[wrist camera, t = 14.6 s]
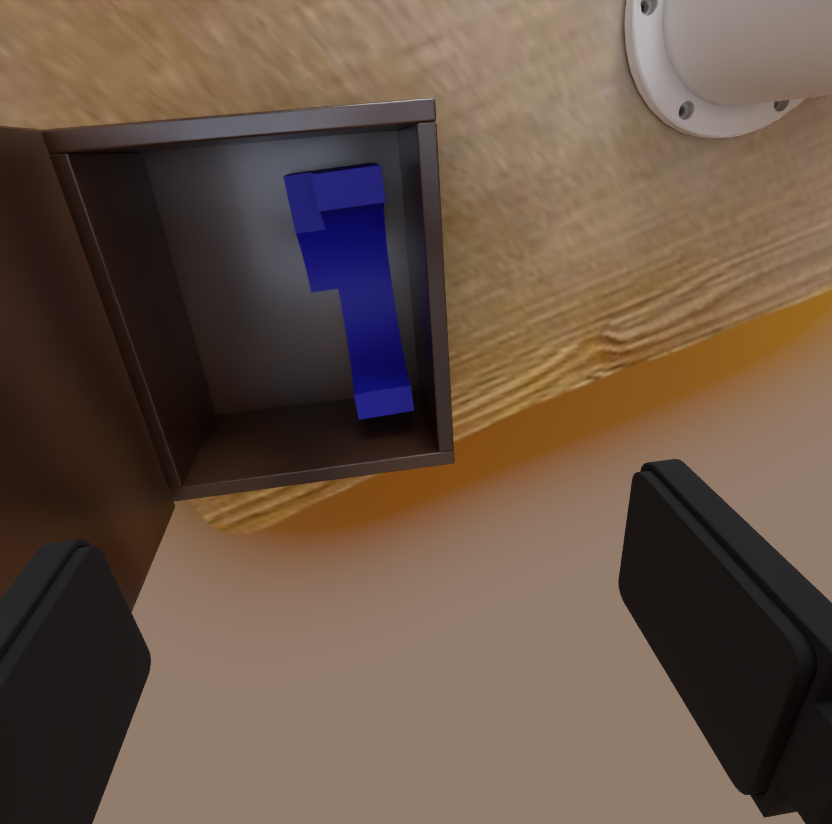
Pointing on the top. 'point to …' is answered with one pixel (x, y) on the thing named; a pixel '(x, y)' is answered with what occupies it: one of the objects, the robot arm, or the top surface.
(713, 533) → the robot arm
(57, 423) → the lid
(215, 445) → the keepsake box
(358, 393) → the blue notched block
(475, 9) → the top surface
